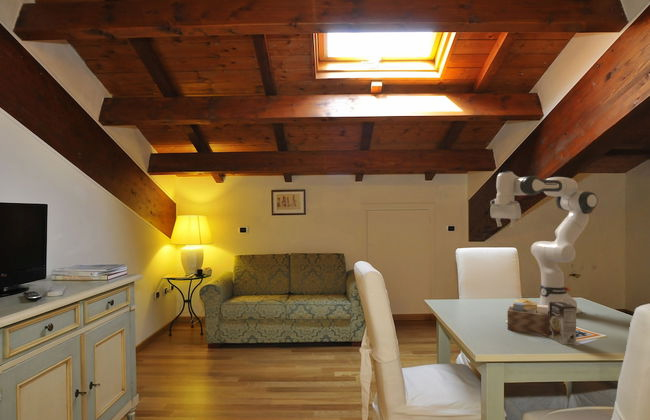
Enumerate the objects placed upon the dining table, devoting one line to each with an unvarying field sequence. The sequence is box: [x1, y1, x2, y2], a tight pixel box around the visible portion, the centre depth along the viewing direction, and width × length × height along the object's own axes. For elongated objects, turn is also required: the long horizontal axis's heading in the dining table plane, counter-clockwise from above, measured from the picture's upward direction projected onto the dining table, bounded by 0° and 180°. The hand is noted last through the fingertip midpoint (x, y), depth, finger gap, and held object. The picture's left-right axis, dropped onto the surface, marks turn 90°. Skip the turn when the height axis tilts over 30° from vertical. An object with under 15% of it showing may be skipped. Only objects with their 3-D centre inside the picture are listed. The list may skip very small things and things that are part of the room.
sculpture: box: [511, 298, 538, 309], centre depth 206 cm, size 11×12×11 cm
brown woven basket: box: [507, 305, 550, 336], centre depth 188 cm, size 19×10×9 cm, turn 59°
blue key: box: [512, 301, 524, 312], centre depth 191 cm, size 4×4×4 cm
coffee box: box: [549, 302, 577, 345], centre depth 172 cm, size 9×6×16 cm
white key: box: [536, 303, 548, 314], centre depth 186 cm, size 4×4×4 cm
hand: (505, 226), depth 214 cm, fingers open, 8 cm apart
